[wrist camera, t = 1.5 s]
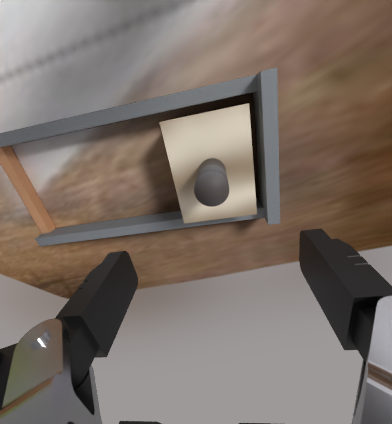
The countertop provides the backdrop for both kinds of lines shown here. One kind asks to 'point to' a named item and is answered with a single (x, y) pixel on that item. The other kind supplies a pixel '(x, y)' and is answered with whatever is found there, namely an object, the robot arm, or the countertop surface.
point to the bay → (256, 84)
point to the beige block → (212, 163)
